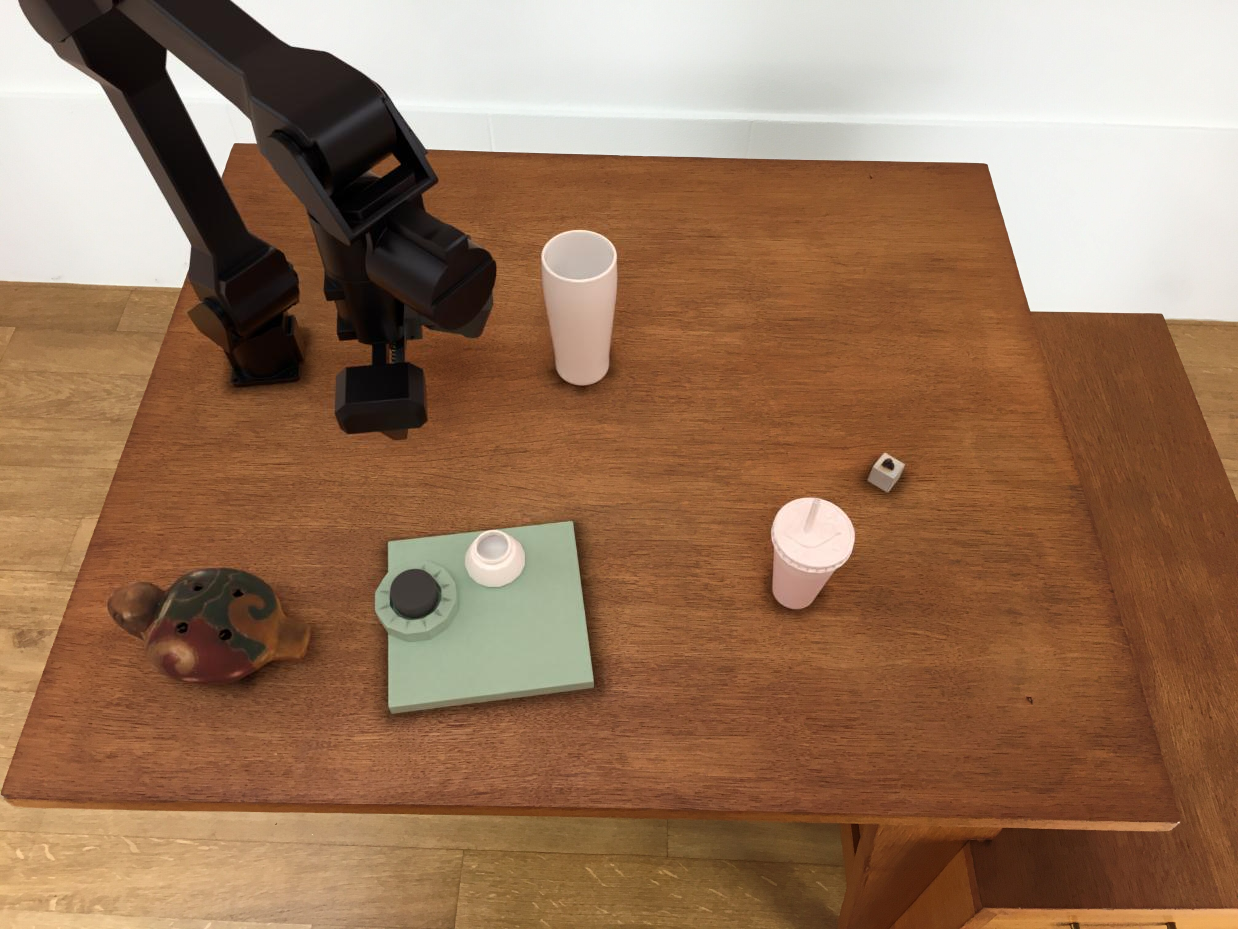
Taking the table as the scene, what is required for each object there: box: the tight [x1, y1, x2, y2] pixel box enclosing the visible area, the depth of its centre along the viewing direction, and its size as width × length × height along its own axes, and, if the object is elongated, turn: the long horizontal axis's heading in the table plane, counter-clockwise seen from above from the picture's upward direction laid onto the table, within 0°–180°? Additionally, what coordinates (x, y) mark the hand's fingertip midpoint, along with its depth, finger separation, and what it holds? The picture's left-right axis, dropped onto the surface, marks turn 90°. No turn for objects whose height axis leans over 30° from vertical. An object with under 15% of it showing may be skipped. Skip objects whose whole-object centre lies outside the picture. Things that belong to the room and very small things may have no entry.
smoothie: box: [770, 497, 856, 610], centre depth 77 cm, size 6×6×14 cm
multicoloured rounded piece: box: [106, 567, 312, 685], centre depth 76 cm, size 10×15×8 cm, turn 88°
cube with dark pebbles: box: [867, 452, 906, 493], centre depth 88 cm, size 2×2×2 cm
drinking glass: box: [540, 229, 619, 387], centre depth 90 cm, size 7×7×15 cm
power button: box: [390, 569, 438, 618], centre depth 78 cm, size 4×4×2 cm
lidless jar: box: [465, 529, 525, 587], centre depth 81 cm, size 5×3×5 cm
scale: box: [374, 520, 595, 715], centre depth 79 cm, size 17×15×3 cm
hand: (400, 393), depth 80 cm, fingers open, 9 cm apart
